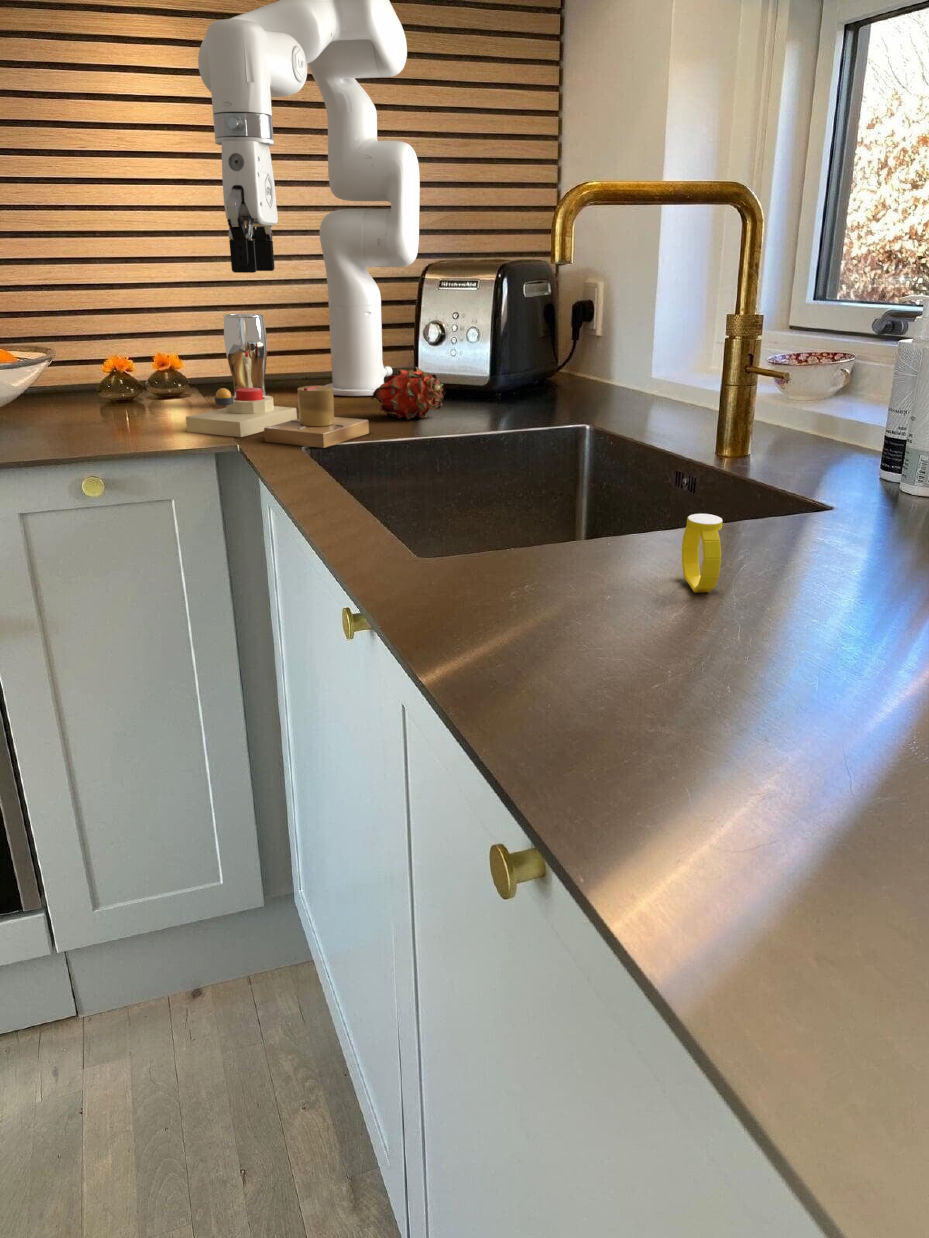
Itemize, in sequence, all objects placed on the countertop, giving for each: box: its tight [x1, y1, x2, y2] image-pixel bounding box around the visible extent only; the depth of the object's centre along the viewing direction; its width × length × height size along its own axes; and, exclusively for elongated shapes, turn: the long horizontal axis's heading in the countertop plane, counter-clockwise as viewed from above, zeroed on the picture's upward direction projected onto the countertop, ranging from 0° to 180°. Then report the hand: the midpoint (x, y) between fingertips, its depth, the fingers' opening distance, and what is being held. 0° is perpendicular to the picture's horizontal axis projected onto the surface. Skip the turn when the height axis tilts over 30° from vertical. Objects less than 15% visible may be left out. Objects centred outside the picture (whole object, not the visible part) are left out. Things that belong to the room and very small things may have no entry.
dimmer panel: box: [263, 416, 370, 449], centre depth 136 cm, size 12×10×2 cm
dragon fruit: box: [370, 366, 447, 421], centre depth 150 cm, size 8×8×12 cm
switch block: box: [185, 395, 298, 438], centre depth 143 cm, size 14×10×4 cm
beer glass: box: [223, 313, 268, 397], centre depth 159 cm, size 7×7×15 cm
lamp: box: [214, 387, 234, 406], centre depth 139 cm, size 3×3×2 cm
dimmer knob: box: [297, 385, 335, 426], centre depth 135 cm, size 5×5×5 cm
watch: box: [681, 513, 723, 594], centre depth 77 cm, size 6×3×6 cm, turn 4°
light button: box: [236, 388, 263, 401], centre depth 144 cm, size 4×4×2 cm
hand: (254, 271), depth 129 cm, fingers open, 9 cm apart
